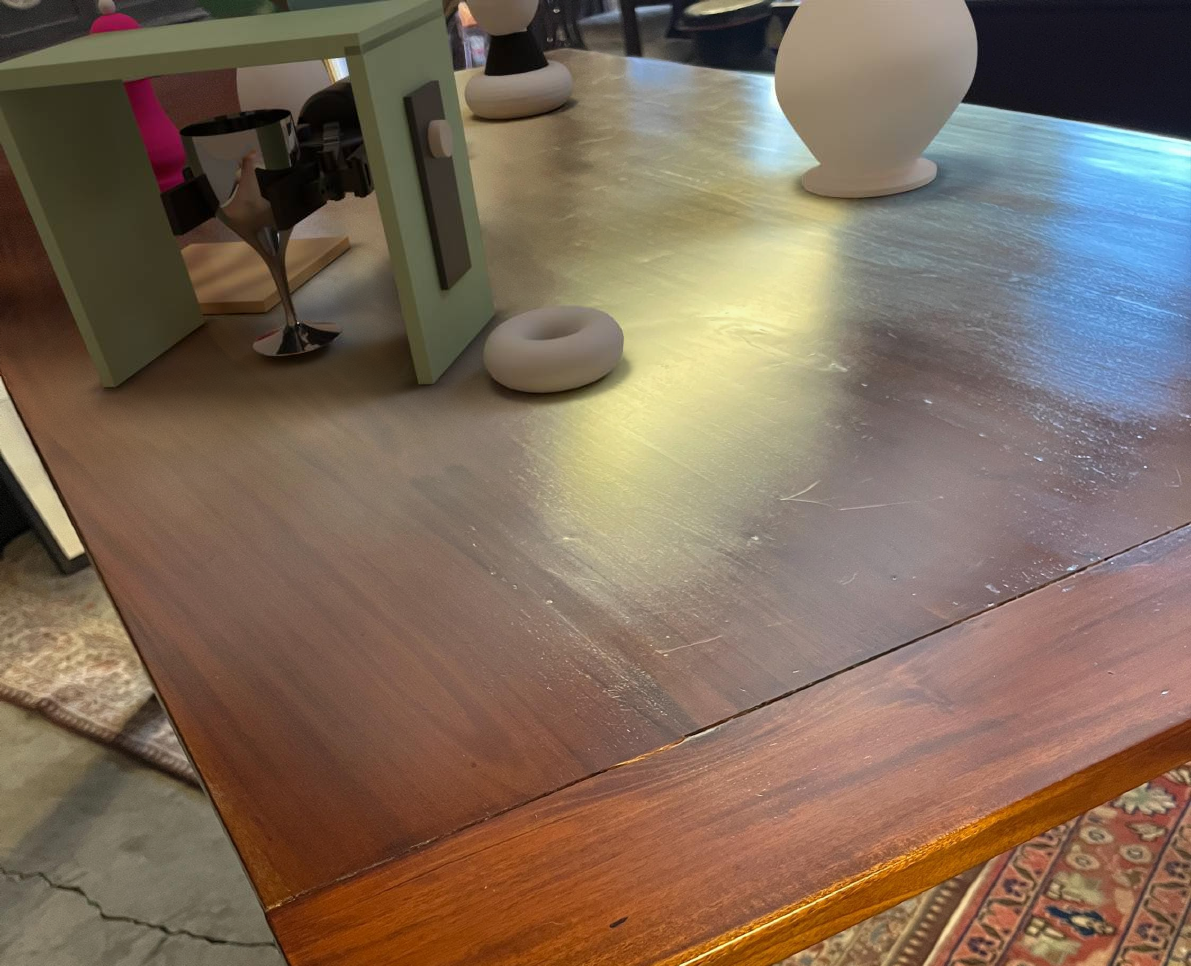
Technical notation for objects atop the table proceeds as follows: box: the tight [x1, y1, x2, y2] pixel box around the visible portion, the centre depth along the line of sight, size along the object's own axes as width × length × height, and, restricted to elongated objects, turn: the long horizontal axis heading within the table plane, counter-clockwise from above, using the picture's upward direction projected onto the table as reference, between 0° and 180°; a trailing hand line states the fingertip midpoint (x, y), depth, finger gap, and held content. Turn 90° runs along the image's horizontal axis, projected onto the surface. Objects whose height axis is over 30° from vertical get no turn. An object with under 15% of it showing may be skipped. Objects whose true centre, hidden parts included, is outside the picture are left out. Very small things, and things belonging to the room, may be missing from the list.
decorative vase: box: [774, 0, 978, 199], centre depth 97 cm, size 18×18×25 cm
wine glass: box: [178, 109, 343, 357], centre depth 82 cm, size 8×8×15 cm
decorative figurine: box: [464, 0, 574, 120], centre depth 143 cm, size 15×15×20 cm
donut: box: [482, 305, 625, 394], centre depth 77 cm, size 10×3×10 cm
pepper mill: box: [89, 0, 188, 194], centre depth 130 cm, size 7×7×20 cm
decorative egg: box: [236, 60, 333, 126], centre depth 141 cm, size 12×12×15 cm
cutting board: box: [180, 236, 351, 315], centre depth 104 cm, size 18×18×1 cm
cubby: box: [0, 0, 496, 388], centre depth 80 cm, size 30×14×21 cm, turn 75°
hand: (223, 212), depth 77 cm, fingers closed on wine glass, 8 cm apart
